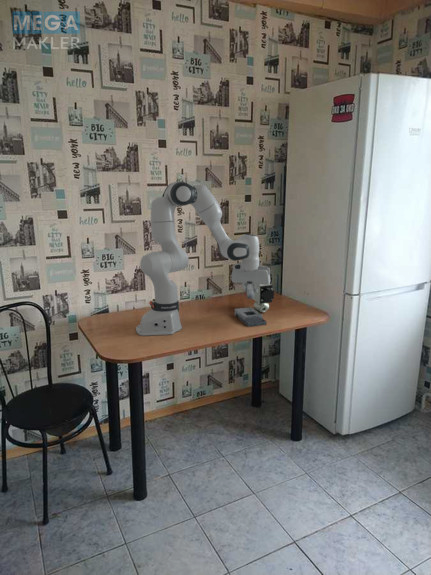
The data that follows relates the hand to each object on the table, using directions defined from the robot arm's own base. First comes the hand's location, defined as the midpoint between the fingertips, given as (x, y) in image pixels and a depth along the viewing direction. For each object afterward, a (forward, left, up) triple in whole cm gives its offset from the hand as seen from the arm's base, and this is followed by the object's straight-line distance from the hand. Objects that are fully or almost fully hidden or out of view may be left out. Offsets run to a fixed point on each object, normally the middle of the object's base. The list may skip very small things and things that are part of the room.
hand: (250, 291), depth 215 cm
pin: (0, 0, -3) cm, 3 cm away
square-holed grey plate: (0, 0, -15) cm, 15 cm away
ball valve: (+12, +13, -16) cm, 23 cm away
